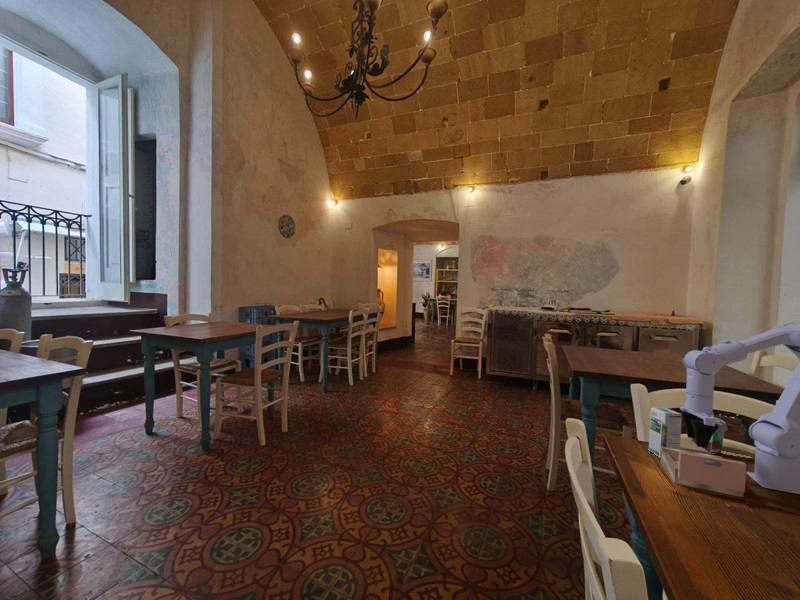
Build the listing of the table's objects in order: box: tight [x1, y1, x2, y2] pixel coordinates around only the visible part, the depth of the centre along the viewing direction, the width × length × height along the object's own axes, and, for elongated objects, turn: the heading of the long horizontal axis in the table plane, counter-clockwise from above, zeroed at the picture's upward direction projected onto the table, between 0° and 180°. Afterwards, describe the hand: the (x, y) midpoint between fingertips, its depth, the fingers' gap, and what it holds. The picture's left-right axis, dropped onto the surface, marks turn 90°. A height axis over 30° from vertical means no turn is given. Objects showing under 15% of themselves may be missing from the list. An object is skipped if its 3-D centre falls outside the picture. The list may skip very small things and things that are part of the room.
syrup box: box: [648, 406, 683, 459], centre depth 106 cm, size 6×6×14 cm
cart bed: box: [660, 447, 745, 498], centre depth 93 cm, size 14×12×5 cm
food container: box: [691, 416, 728, 455], centre depth 112 cm, size 12×6×10 cm, turn 168°
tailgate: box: [678, 451, 747, 493], centre depth 86 cm, size 13×2×7 cm, turn 67°
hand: (697, 442), depth 95 cm, fingers open, 6 cm apart
